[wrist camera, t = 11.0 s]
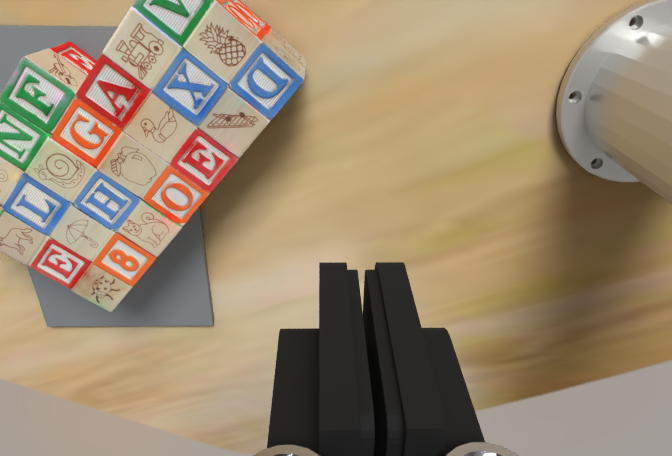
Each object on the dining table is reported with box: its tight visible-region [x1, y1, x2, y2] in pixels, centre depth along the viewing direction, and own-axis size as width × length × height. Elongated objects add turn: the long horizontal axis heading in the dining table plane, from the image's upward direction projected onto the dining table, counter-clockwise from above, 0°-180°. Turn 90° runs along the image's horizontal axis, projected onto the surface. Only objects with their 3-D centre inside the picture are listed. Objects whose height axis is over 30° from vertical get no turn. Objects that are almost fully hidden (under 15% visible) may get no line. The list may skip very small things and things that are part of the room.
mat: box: [0, 25, 214, 327], centre depth 38 cm, size 14×24×1 cm, turn 179°
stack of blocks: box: [0, 0, 307, 312], centre depth 32 cm, size 21×6×12 cm
